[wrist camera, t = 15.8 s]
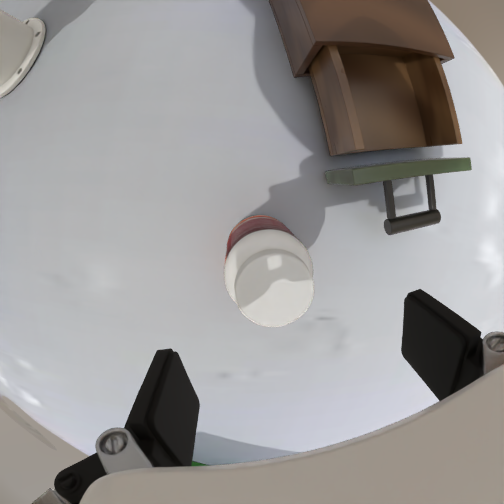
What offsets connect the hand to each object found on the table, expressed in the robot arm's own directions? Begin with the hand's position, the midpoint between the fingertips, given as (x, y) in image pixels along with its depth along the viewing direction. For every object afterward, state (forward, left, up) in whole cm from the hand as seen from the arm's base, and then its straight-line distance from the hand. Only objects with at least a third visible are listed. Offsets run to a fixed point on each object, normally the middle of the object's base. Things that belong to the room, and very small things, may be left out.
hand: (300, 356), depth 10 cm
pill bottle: (0, 0, -17) cm, 17 cm away
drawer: (+14, +9, -16) cm, 23 cm away
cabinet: (+14, +23, -17) cm, 32 cm away
